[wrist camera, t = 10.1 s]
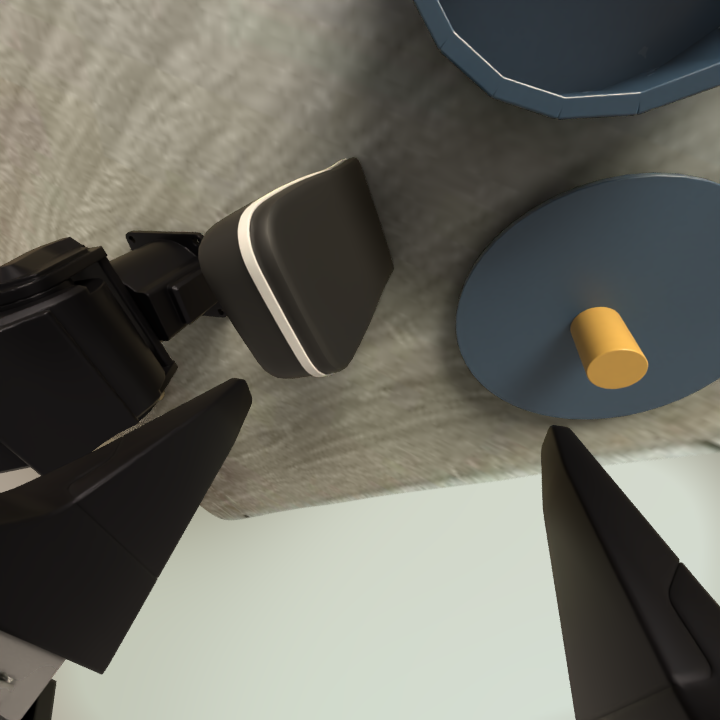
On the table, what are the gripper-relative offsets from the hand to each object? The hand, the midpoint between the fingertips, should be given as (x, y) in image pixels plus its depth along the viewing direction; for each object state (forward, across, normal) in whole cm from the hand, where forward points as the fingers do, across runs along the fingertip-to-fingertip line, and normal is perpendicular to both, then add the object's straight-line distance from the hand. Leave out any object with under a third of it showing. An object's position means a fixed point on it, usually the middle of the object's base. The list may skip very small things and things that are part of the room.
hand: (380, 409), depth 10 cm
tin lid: (+13, -9, +4) cm, 16 cm away
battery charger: (+13, +5, -1) cm, 14 cm away
